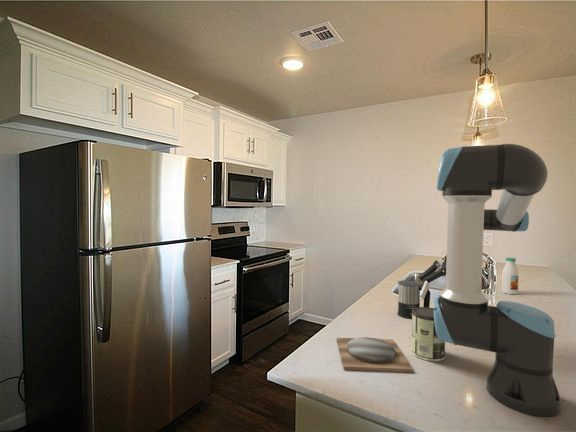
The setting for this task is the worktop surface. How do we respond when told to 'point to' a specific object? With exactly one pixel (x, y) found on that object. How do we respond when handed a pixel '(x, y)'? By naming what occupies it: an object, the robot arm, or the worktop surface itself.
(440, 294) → the robot arm
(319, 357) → the worktop surface
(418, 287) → the milk frother
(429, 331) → the coffee can
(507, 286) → the milk bottle
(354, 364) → the mount board
